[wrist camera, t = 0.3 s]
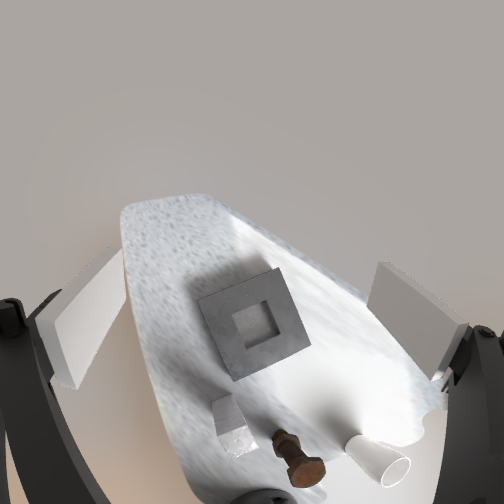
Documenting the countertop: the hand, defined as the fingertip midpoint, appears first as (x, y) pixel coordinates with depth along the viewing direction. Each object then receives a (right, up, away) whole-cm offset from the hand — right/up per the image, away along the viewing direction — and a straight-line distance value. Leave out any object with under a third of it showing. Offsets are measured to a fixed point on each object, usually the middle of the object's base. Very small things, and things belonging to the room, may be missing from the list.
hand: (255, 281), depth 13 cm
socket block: (0, -11, +33) cm, 34 cm away
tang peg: (-4, -25, +29) cm, 38 cm away
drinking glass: (+21, -39, +31) cm, 54 cm away
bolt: (+5, -32, +29) cm, 44 cm away
